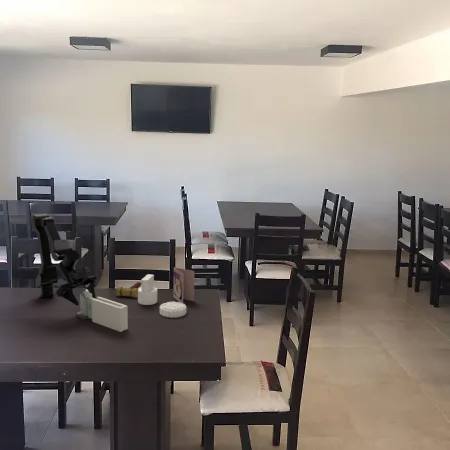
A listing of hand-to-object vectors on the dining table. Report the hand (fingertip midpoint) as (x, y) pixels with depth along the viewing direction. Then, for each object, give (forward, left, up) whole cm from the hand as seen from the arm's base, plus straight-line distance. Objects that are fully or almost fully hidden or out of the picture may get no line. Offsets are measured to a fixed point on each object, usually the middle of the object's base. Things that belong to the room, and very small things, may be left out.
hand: (86, 302), depth 217 cm
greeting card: (-21, +42, -7) cm, 47 cm away
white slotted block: (+9, +11, -7) cm, 16 cm away
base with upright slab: (-19, +25, -7) cm, 32 cm away
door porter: (-1, -1, -7) cm, 7 cm away
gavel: (-34, +17, -7) cm, 39 cm away
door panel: (+5, +6, -7) cm, 10 cm away
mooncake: (-5, +37, -7) cm, 38 cm away
